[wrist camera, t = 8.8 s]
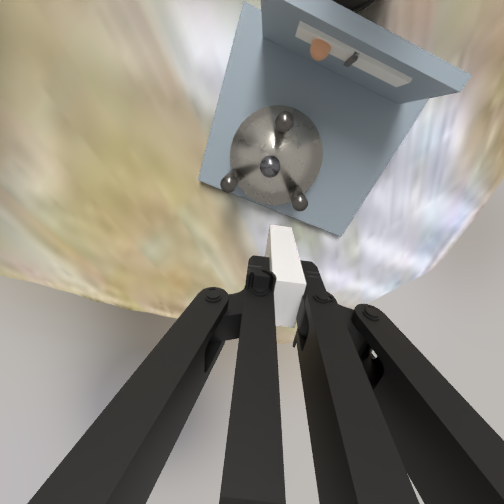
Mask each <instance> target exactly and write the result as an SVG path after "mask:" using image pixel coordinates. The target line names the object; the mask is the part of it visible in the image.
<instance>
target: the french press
mask: <svg viewBox="0 0 504 504" xmlns="http://www.w3.org/2000/svg"><path fill="white" fill-rule="evenodd" d="M332 1H334V2H336V3H338V4H340V5H342V6H344V7H345V8H347V9H349V10H351V11H353V12H355V13H356V12H358V11H360V10H362V9H364V8H366V7H367V6H368V5H370V4H371V3H372V2H373V1H374V0H332Z"/></svg>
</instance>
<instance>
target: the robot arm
mask: <svg viewBox="0 0 504 504" xmlns="http://www.w3.org/2000/svg"><path fill="white" fill-rule="evenodd" d="M296 320H297V326H298V328H297V331H296V335H295V338H294V342H293V347H295V345H296V343H297V349H298V356H299V363H300V369H301V377H302V383H303V390H304V398H305V405H306V411H307V419H308V425H309V432H310V439H311V446H312V453H313V460H314V467H315V474H316V481H317V488H318V494H319V502H320V504H419V502H418V499H417V497H416V494H415V492H414V490H413V487H412V485H411V482H410V480H409V477H410V479H411V481H412V482H413V484H414V486H415V488H416V489H417V491H418V493H419V495H420V496H421V498H422V500H423V502H424V503H425V504H504V441H503V440H502V438H501V437H500V436H499V435H498V434H497V433H496V432H495V431H494V430H493V429H492V428H491V427H490V426H489V425H488V424H487V423H486V421H485V420H484V419H483V418H482V417H481V416H480V415H479V414H478V413H477V412H476V411H475V410H474V409H473V408H472V406H470V405H469V403H468V402H467V401H466V400H465V399H464V398H463V397H462V396H461V395H460V394H459V393H458V392H457V391H456V389H454V387H453V386H452V385H451V384H450V383H448V381H447V380H446V379H445V378H444V377H443V376H442V375H441V373H440V372H439V371H438V370H437V369H436V368H435V367H434V366H433V365H432V364H431V363H430V362H429V361H428V360H427V359H426V358H425V357H424V355H423V354H422V353H421V352H420V351H419V350H418V349H417V348H416V347H415V346H414V345H413V344H412V343H411V342H410V340H409V339H408V338H407V337H406V336H405V335H404V334H403V333H402V332H401V331H400V330H399V329H398V328H397V327H396V326H395V325H394V323H393V322H392V321H391V320H390V319H389V318H388V317H387V316H386V315H385V314H384V313H383V312H382V311H380V310H379V309H378V308H376V307H374V306H371V305H368V304H359V305H357V306H356V307H355V309H354V310H353V309H350V308H347V307H344V306H341V305H339V304H337V301H336V299H335V298H334V296H333V295H331V294H330V293H328V292H326V289H325V287H324V284H323V281H322V279H321V276H320V273H319V271H318V268H317V266H316V265H315V264H314V263H313V262H309V261H301V260H300V258H299V254H298V250H297V247H296V243H295V239H294V235H293V231H292V228H291V227H286V226H278V225H270V228H269V234H268V241H267V247H266V254H265V257H262V256H252V257H251V258H250V259H249V262H248V270H247V277H246V285H245V288H244V289H243V290H242V291H241V292H239V293H236V294H229V295H228V293H227V292H226V291H225V290H223V289H221V288H217V287H210V288H206V289H203V290H202V291H201V292H199V294H198V295H197V296H196V297H195V298H194V300H193V301H192V302H191V303H190V305H189V306H188V307H187V308H186V310H185V311H184V312H183V313H182V314H181V316H180V317H179V318H178V319H177V321H176V322H175V323H174V324H173V325H172V327H171V328H170V329H169V331H168V332H167V333H166V334H165V335H164V337H163V338H162V339H161V340H160V341H159V343H158V344H157V345H156V346H155V348H154V349H153V350H152V351H151V353H150V354H149V355H148V356H147V358H146V359H145V360H144V361H143V362H142V364H141V365H140V366H139V367H138V369H137V370H136V371H135V372H134V373H133V375H132V376H131V377H130V379H129V380H128V381H127V382H126V383H125V384H124V386H123V387H122V388H121V389H120V391H119V392H118V393H117V394H116V396H115V397H114V398H113V399H112V401H111V402H110V403H109V404H108V405H107V407H106V408H105V409H104V410H103V411H102V413H101V414H100V415H99V416H98V418H97V419H96V420H95V421H94V423H93V424H92V425H91V426H90V427H89V429H88V430H87V431H86V432H85V434H84V435H83V436H82V437H81V439H80V440H79V441H78V442H77V443H76V445H75V446H74V447H73V448H72V450H71V451H70V452H69V453H68V455H67V456H66V457H65V458H64V459H63V461H62V462H61V463H60V464H59V466H58V467H57V468H56V469H55V470H54V472H53V473H52V474H51V475H50V477H49V478H48V479H47V480H46V482H45V483H44V484H43V485H42V486H41V488H40V489H39V490H38V491H37V493H36V494H35V495H34V496H33V497H32V499H31V500H30V501H29V503H28V504H146V502H147V500H148V498H149V495H150V494H151V492H152V490H153V487H154V485H155V483H156V481H157V479H158V477H159V475H160V473H161V471H162V469H163V467H164V465H165V463H166V461H167V459H168V457H169V455H170V453H171V451H172V449H173V447H174V445H175V443H176V441H177V439H178V437H179V435H180V433H181V430H182V429H183V427H184V424H185V423H186V421H187V419H188V416H189V414H190V412H191V410H192V408H193V406H194V404H195V402H196V400H197V398H198V396H199V394H200V392H201V390H202V388H203V386H204V384H205V382H206V380H207V378H208V376H209V374H210V372H211V370H212V368H213V366H214V364H215V361H216V360H217V358H218V356H219V354H220V351H221V350H222V347H223V345H224V343H225V340H231V339H237V338H239V343H238V352H237V361H236V368H235V377H234V385H233V393H232V401H231V410H230V418H229V427H228V435H227V443H226V451H225V459H224V467H223V476H222V484H221V493H220V501H219V504H286V500H285V482H284V464H283V446H282V429H281V413H280V412H281V411H280V393H279V376H278V360H277V341H276V326H284V327H293V328H294V327H295V324H296ZM372 350H374V351H375V353H376V354H377V358H375V357H374V356H373V354H372V353H371V352H372ZM407 474H408V475H407ZM408 476H409V477H408Z"/></svg>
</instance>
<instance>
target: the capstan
mask: <svg viewBox="0 0 504 504" xmlns="http://www.w3.org/2000/svg"><path fill="white" fill-rule="evenodd" d="M322 159H323V147H322V141H321V137H320V135H319V132H318V130H317V128H316V126H315V125H314V123H313V122H312V121H311V120H310V119H309V118H308V116H306V115H305V114H304V113H303V112H301V111H299V110H297V109H295V108H292V107H289V106H284V105H273V106H268V107H264V108H262V109H259V110H257V111H256V112H254V113H252V114H251V115H250V116H249V117H247V118H246V119H245V120H244V121H243V122H242V124H241V125H240V126H239V128H238V129H237V131H236V133H235V135H234V138H233V140H232V144H231V149H230V166H231V170H230V171H229V172H228V173H227V174H226V175H225V177H224V178H223V179H222V180H221V182H220V186H221V189H222V190H223V191H224V192H227V193H231V192H233V191H234V190H235V188H236V186H237V184H238V186H239V187H240V189H241V190H242V191H243V192H244V193H245V194H246V195H247V196H249V197H250V198H252V199H253V200H255V201H257V202H260V203H263V204H268V205H281V204H286V203H289V202H291V203H292V206H293V208H294V209H295V210H296V211H304V210H305V209H306V208H307V206H308V200H307V199H306V197H305V195H304V193H306V192H307V191H308V190H309V188H310V187H311V186H312V185H313V183H314V182H315V180H316V178H317V176H318V174H319V172H320V168H321V165H322Z"/></svg>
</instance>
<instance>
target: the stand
mask: <svg viewBox="0 0 504 504" xmlns="http://www.w3.org/2000/svg"><path fill="white" fill-rule="evenodd" d="M470 77H471V75H470V74H469V73H467V72H465V71H463V70H461V69H459V68H457V67H455V66H454V65H452V64H450V63H448V62H446V61H444V60H442V59H441V58H439V57H437V56H435V55H433V54H431V53H429V52H427V51H426V50H424V49H422V48H420V47H418V46H416V45H414V44H413V43H411V42H409V41H407V40H405V39H403V38H401V37H399V36H398V35H396V34H394V33H392V32H390V31H388V30H386V29H385V28H383V27H381V26H379V25H377V24H375V23H373V22H371V21H370V20H368V19H366V18H364V17H362V16H360V15H358V14H357V13H355V12H353V11H351V10H349V9H347V8H345V7H344V6H342V5H340V4H338V3H336V2H334V1H332V0H261V10H260V9H258V8H256V7H254V6H252V5H250V4H248V3H247V2H245V1H244V2H243V6H242V10H241V14H240V17H239V21H238V25H237V29H236V33H235V37H234V41H233V45H232V49H231V53H230V57H229V60H228V64H227V68H226V72H225V76H224V80H223V84H222V88H221V92H220V96H219V100H218V104H217V107H216V111H215V115H214V119H213V123H212V127H211V131H210V135H209V139H208V143H207V147H206V150H205V154H204V158H203V162H202V166H201V170H200V174H199V178H198V180H199V181H201V182H204V183H206V184H209V185H211V186H214V187H217V188H219V189H221V186H220V182H221V180H222V179H223V178H224V177H225V175H226V174H227V173H228V172H229V171H230V170H231V166H230V149H231V144H232V140H233V138H234V135H235V133H236V131H237V129H238V128H239V126H240V125H241V124H242V122H243V121H244V120H245V119H246V118H247V117H249V116H250V115H251V114H252V113H254V112H256V111H257V110H259V109H262V108H264V107H268V106H273V105H284V106H289V107H292V108H295V109H297V110H299V111H301V112H303V113H304V114H305V115H306V116H308V118H309V119H310V120H311V121H312V122H313V123H314V125H315V126H316V128H317V130H318V132H319V135H320V137H321V141H322V147H323V159H322V165H321V168H320V172H319V174H318V176H317V178H316V180H315V182H314V183H313V185H312V186H311V187H310V188H309V190H308V191H307V192H306V193H304V195H305V197H306V199H307V200H308V206H307V208H306V209H305V210H304V211H296V210H295V209H294V208H293V206H292V203H291V202H289V203H286V204H281V205H268V204H263V203H260V202H257V201H255V200H253V199H252V198H250V197H249V196H247V195H246V194H245V193H244V192H243V191H242V190H241V189H240V187H239V186H238V184H237V186H236V188H235V190H234V191H233V192H231V193H232V194H234V195H237V196H239V197H242V198H244V199H247V200H250V201H252V202H255V203H257V204H260V205H262V206H265V207H267V208H270V209H272V210H275V211H277V212H280V213H283V214H285V215H288V216H290V217H293V218H295V219H298V220H300V221H303V222H305V223H308V224H311V225H313V226H316V227H318V228H321V229H323V230H326V231H328V232H331V233H333V234H336V235H338V236H342V234H343V233H344V231H345V230H346V228H347V226H348V225H349V223H350V222H351V220H352V219H353V217H354V215H355V214H356V212H357V211H358V209H359V208H360V206H361V205H362V203H363V201H364V200H365V198H366V197H367V195H368V194H369V192H370V190H371V189H372V187H373V186H374V184H375V183H376V181H377V180H378V178H379V176H380V175H381V173H382V172H383V170H384V169H385V167H386V165H387V164H388V162H389V161H390V159H391V158H392V156H393V154H394V153H395V151H396V150H397V148H398V147H399V145H400V144H401V142H402V140H403V139H404V137H405V136H406V134H407V133H408V131H409V129H410V128H411V126H412V125H413V123H414V122H415V120H416V119H417V117H418V115H419V114H420V112H421V111H422V109H423V108H424V106H425V104H426V103H427V101H428V100H429V98H433V97H438V96H443V95H448V94H453V93H458V92H460V91H461V90H462V89H463V87H464V86H465V84H466V83H467V81H468V80H469V78H470Z"/></svg>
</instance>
